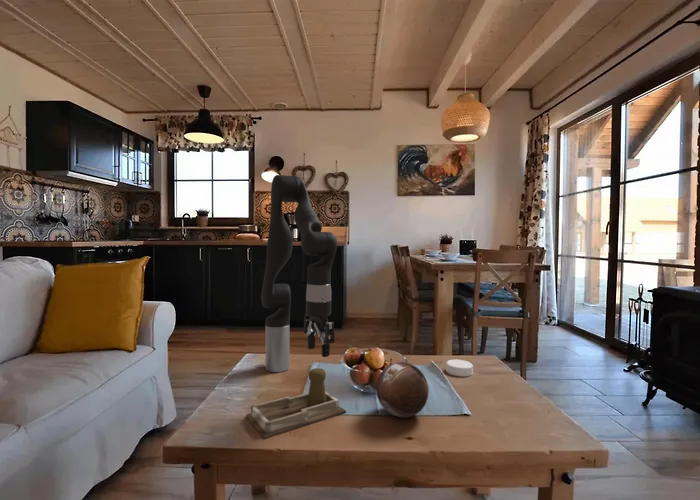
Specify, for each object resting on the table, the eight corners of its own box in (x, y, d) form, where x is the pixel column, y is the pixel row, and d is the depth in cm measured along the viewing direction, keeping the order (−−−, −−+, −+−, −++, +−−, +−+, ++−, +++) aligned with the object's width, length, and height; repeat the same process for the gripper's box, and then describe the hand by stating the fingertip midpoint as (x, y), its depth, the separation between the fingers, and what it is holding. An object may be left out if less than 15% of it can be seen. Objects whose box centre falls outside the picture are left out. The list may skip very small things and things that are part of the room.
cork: (303, 407, 108) (303, 371, 108) (313, 399, 114) (313, 364, 113) (321, 411, 106) (321, 374, 106) (330, 403, 111) (330, 367, 111)
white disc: (476, 377, 136) (476, 368, 136) (450, 377, 135) (450, 367, 135) (467, 367, 146) (467, 359, 146) (442, 367, 145) (443, 358, 145)
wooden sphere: (366, 416, 105) (366, 365, 104) (392, 398, 116) (393, 352, 116) (413, 433, 95) (413, 377, 95) (436, 412, 107) (437, 362, 107)
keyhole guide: (246, 416, 104) (246, 405, 104) (321, 395, 118) (321, 386, 118) (264, 438, 93) (264, 426, 92) (345, 412, 107) (345, 402, 107)
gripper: (296, 296, 112) (296, 348, 113) (319, 303, 100) (319, 361, 101) (317, 294, 116) (317, 344, 117) (342, 301, 105) (341, 356, 105)
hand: (318, 352), depth 109 cm, fingers open, 8 cm apart
